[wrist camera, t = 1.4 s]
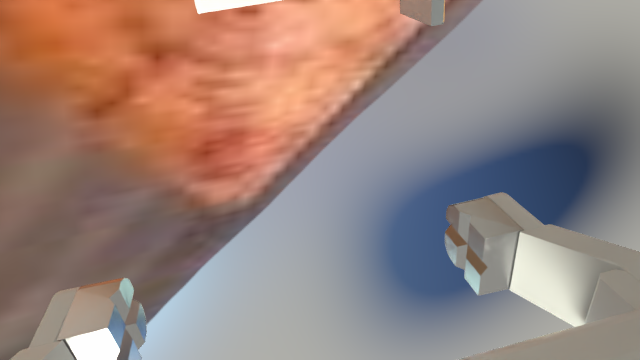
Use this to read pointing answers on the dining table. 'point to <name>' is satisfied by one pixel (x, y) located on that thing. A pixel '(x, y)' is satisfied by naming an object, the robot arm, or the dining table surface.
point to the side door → (424, 10)
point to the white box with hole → (225, 4)
